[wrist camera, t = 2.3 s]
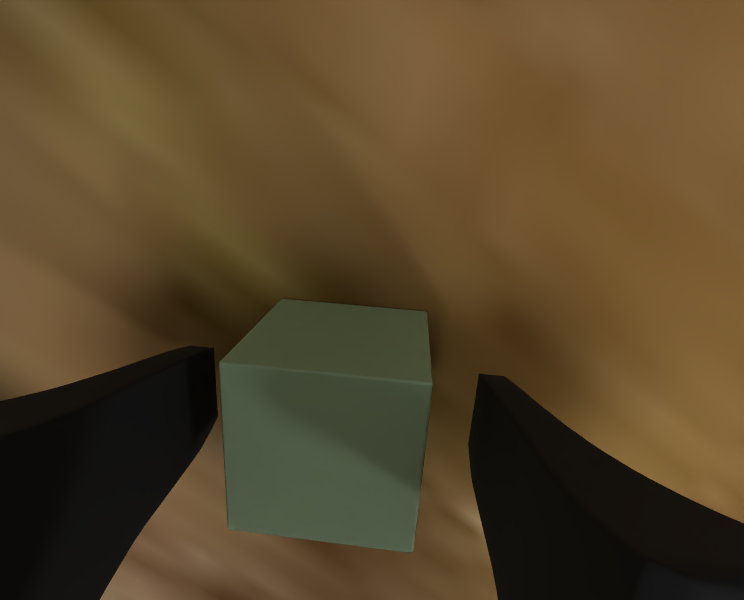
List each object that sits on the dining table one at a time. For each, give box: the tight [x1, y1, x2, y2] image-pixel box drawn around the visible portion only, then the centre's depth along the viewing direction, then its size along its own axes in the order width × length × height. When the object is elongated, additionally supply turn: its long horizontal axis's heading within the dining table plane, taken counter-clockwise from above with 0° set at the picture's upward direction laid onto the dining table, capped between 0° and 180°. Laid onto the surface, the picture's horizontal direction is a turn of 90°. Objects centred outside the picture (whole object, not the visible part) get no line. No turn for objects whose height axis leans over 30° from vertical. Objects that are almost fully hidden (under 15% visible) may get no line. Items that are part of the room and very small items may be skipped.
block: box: [219, 299, 433, 553], centre depth 10 cm, size 4×4×4 cm
